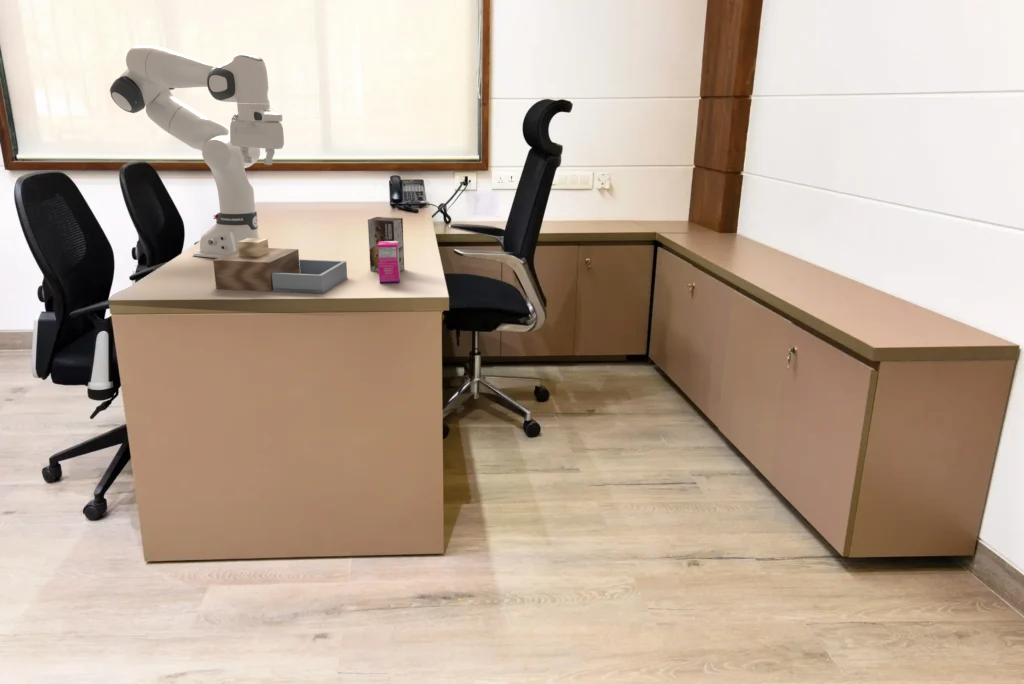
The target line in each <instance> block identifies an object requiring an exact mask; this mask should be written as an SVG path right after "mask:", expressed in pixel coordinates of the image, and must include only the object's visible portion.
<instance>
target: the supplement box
mask: <svg viewBox="0 0 1024 684" xmlns="http://www.w3.org/2000/svg"><path fill="white" fill-rule="evenodd" d="M377 249H378V266H379V271H378V278H379V279H378V281H379V282H378V283H379V284H399V283H401V281H400V280H401V273H400V272H401V271H400V269H399V251H398V241H379V242H378V245H377Z"/></svg>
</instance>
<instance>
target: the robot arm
mask: <svg viewBox="0 0 1024 684" xmlns="http://www.w3.org/2000/svg"><path fill="white" fill-rule="evenodd" d="M125 57H126V58H125V63H126V67H127V69H126V70H124V72H123V73H122V74H121V75H120V76H119V77H118V78H117V79H115V80H114V82H113V83H111V86H110V89H109V93H110V96H111V98H112V100H113V102H114V103H115V104H116V105H117V106H118V107H119V108H120V109H121V110H123V111H125V112H127V113H131V114H135V113H138V112H141V111H143V110H144V109H145V113H146V116H147V117H148V118H149V119H150V121H152V122H153V123H154V124H156V125H157V126H159V128H161V129H162V130H164V131H165V132H166V133H168V134H169V135H171V136H173V137H174V138H176V139H177V140H179V141H181V142H182V143H184V144H185V145H187V146H189V147H190V148H193V149H195V150H199V151H200V152H201V155H202V158H203V161H204V162H205V164H206V165H207V166H208V167H209V169H210V170H211V174H212V176H213V179H214V181H215V185H216V189H217V195H218V202H219V203H218V204H219V212H218V213H216V214H215V215H213V220H215V221H216V222H215V224H214V225H213V226H212V227H210V228H209V229H208V230H207V231H206V232H205V233H203V234H202V235H201V237H200V239H199V248H198V249H196V250H194V252H193V254H192V255H193V256H194V257H204V258H215V259H217V258H220V257H223V256H225V255H228V254H230V253H233V252H236V251H238V250H239V249H238V241H241V240H244V239H247V238H256V239H260V236H259V231H258V228H259V221H258V220H259V219H258V213H257V211H256V203H255V192H254V191H255V190H254V187H253V185H252V184H251V183H250V182H249V178H248V176H247V173H246V170H245V169H247V168H250V167H251V166H253V165H254V164H256V163H257V162H258V160H259V159H260V156H261V149H264V151H265V153H266V155H265V158H263V161H264V163H263V164H264V165H266V166H272V165H273V158H274V155H275V150H281V149H283V147H284V145H285V136H284V128H283V124H282V122H283V114H282V113H280V112H278V111H276V110H274V109H273V108H271V105H270V100H269V98H268V97H269V96H268V92H269V78H268V71H267V67H266V64H265V60H264V59H263V58H262V57H260V56H258V55H253V54H248V53H237V54H235V55H234V57H233V58H232V60H230V61H229V62H226V63H224V64H222V65H218V66H216V65H212V64H208V63H206V62H202V61H200V60H198V59H195V58H193V57H189V56H187V55H185V54H182V53H180V52H177V51H174V50H171V49H168V48H164V47H160V46H154V45H136V46H133V47H131V49H129V50H128V52H127V54H126V56H125ZM186 88H189V89H190V88H207V90H208V92H209V94H210V95H211V97H213V99H215V100H216V101H220V102H224V103H226V102H227V103H236V105H237V113H235V114H234V115H232V117H231V122H230V125H229V126H230V127H229V126H226V125H224V124H222V123H220V122H218V121H216V120H213V119H212V118H210V117H208V116H206V115H205V114H203V113H202V112H200V111H198V110H196V109H195V108H193V107H191V106H190V105H188V104H187V103H185V102H183V101H181V100H180V99H178V98H177V97H175V96H174V94H173V93H172V92H171V91H172V90H175V89H186Z"/></svg>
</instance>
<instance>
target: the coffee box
mask: <svg viewBox="0 0 1024 684" xmlns="http://www.w3.org/2000/svg"><path fill="white" fill-rule="evenodd" d="M403 221H404V220H403V217H389V216H388V217H387V216H375V217H372V218H369V219H367V230H368V231H367V232H368V248H369V249H368V251H369V267H370V268H369V269H370V272H379V266H378V249H377V245H378V242H379V241H398V251H399V269H400V272H401V271H404V270H405V253H404V252H405V247H404V245H405V244H404V225H403V224H404V222H403Z"/></svg>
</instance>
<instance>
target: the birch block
mask: <svg viewBox="0 0 1024 684" xmlns="http://www.w3.org/2000/svg"><path fill="white" fill-rule="evenodd" d="M268 248H269V241H268V238H259V239H256V238H247V239H244V240H241V241H238V249H239V256H254V257H260V256H262V255H265V254H267V253H269V249H268Z"/></svg>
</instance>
